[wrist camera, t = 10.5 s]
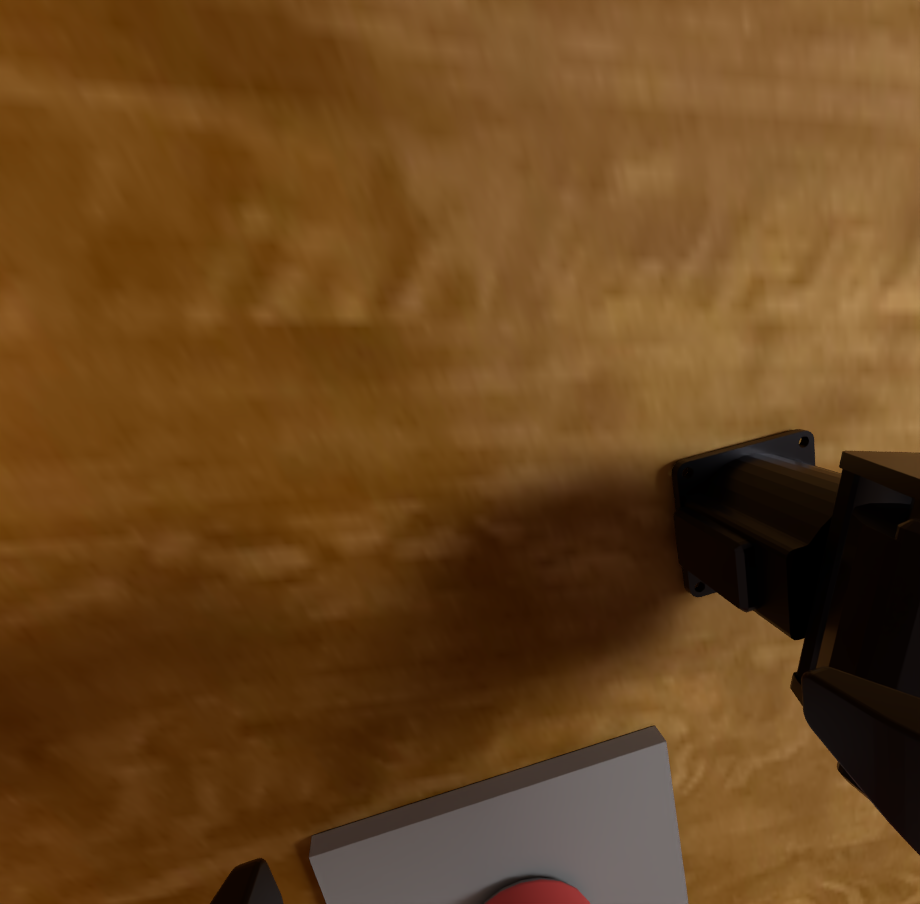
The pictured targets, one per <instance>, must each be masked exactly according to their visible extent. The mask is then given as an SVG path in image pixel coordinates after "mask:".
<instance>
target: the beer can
mask: <svg viewBox="0 0 920 904" xmlns="http://www.w3.org/2000/svg"><path fill="white" fill-rule="evenodd" d="M484 904H590V902H589V901H588V900H587V899H586V898H585V897H584V896H583V895H582V894H581V892H580V891H579V890H578V889H577V888H575V887H574V886H572V885H569V884H567V883H565V882H563V881H560V880H558V879H549V878H532V879H526V880H521V881H518V882H516V883H513V884H511V885H509V886H506V887H504V888H502V889H501V890H499V891H498V892H497V893H495V894H494V895H493V896H491V897H490V898H489V899H487V900H486V901H485V902H484Z"/></svg>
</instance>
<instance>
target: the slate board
mask: <svg viewBox="0 0 920 904" xmlns="http://www.w3.org/2000/svg"><path fill="white" fill-rule="evenodd" d="M309 859H310V862H311V865H312V867H313V870H314V873H315V875H316V878H317V880H318V883H319V886H320V888H321V891H322V893H323V896H324V899H325V901H326V904H484V902H485V901H486V900H487V899H489V898H490V897H491V896H493V895H494V894H495V893H497V892H498V891H499V890H501V889H502V888H504V887H506V886H509V885H511V884H513V883H516V882H518V881H521V880H526V879H532V878H549V879H558V880H560V881H563V882H565V883H567V884H569V885H572V886H574V887H575V888H577V889H578V890H579V891H580V892H581V894H582V895H583V896H584V897H585V898H586V899H587V900H588V901H589V902H590V904H688V898H687V890H686V883H685V876H684V868H683V861H682V853H681V846H680V839H679V831H678V824H677V817H676V809H675V802H674V795H673V787H672V780H671V773H670V765H669V758H668V751H667V743H666V740H665V739H664V738H663V736H662V735H661V733H660V732H659V731H658V729H657V728H656V726H652V727H649V728H646V729H643V730H640V731H637V732H634V733H631V734H627V735H624V736H621V737H618V738H615V739H612V740H609V741H606V742H603V743H599V744H596V745H593V746H590V747H587V748H584V749H581V750H578V751H575V752H571V753H568V754H565V755H562V756H559V757H556V758H553V759H550V760H547V761H544V762H540V763H537V764H534V765H531V766H528V767H525V768H522V769H519V770H516V771H512V772H509V773H506V774H503V775H500V776H497V777H494V778H491V779H488V780H484V781H481V782H478V783H475V784H472V785H469V786H466V787H463V788H460V789H456V790H453V791H450V792H447V793H444V794H441V795H438V796H435V797H432V798H428V799H425V800H422V801H419V802H416V803H413V804H410V805H407V806H404V807H401V808H397V809H394V810H391V811H388V812H385V813H382V814H379V815H376V816H373V817H369V818H366V819H363V820H360V821H357V822H354V823H351V824H348V825H345V826H341V827H338V828H335V829H332V830H329V831H326V832H323V833H320V834H317V835H313V836H312V839H311V846H310V853H309Z"/></svg>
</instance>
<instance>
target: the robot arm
mask: <svg viewBox="0 0 920 904" xmlns="http://www.w3.org/2000/svg"><path fill="white" fill-rule="evenodd" d="M800 438H802V440H801V443H800V444H799V440H800ZM839 467H840V468H842V474H841V473H838V472H834V471H831V470H827V469H824V468H820V467H817V466H815V449H814V437H813V434H812V433H811V432H809V431H806V430H801V429H796V430H792V431H788V432H785V433H781V434H777V435H773V436H769V437H766V438H762V439H758V440H754V441H750V442H747V443H743V444H739V445H735V446H732V447H728V448H724V449H720V450H716V451H713V452H709V453H705V454H701V455H698V456H694V457H690V458H686V459H682V460H680V461H678V462H676V463H675V464H674V466H673V468H672V481H673V489H674V498H675V507H676V510H675V513H674V524H675V533H676V541H677V550H678V559H679V564H680V565H681V566H682V568H683V577H684V586H685V589H686V590H687V591H688V592H689V593H690V594H692V595H693V596H695V597H702V596H705V595H709V594H712V593H716V592H717V593H719V594H720V595H721V596H723V597H724V598H725V599H727V600H728V601H729V602H731V603H732V604H733V605H735V606H736V607H737V608H739V609H740V610H742V611H744V612H749V611H754V612H756V613H757V614H759V615H760V616H761V617H763V618H764V619H766V620H767V621H768V622H770V623H771V624H772V625H774V626H775V627H777V628H778V629H779V630H781V631H782V632H784V633H785V634H786V635H788V636H789V637H790V638H792V639H794V640H800V639H803V638H805V639H804V643H803V648H802V652H801V657H800V661H799V666H798V670H797V672H794V673H793V676H792V681H791V685H790V688H791V690H792V691H793V693H794V694H795V696H796V697H797V698H798V700H799V701H800V703H801V704H802V706H803V712H804V716H805V719H806V721H807V723H808V724H809V726H810V727H811V729H812V730H813V731H814V733H815V734H816V735H817V736H818V737H819V739H820V740H821V741H822V742H823V744H824V745H825V746H826V747H827V748H828V750H829V751H830V752H831V753H832V755H833V756H834V757H835V758H836V759H837V761H838V763H837V769H838V771H839V772H840V773H841V775H842V776H843V777H844V778H845V779H846V780H847V781H848V782H849V783H850V784H851V785H852V786H854V787H855V788H856V789H857V790H858V791H859V792H861V793H862V794H863V795H864V796H865V797H867V798H868V799H869V800H870V801H871V802H872V803H873V804H874V806H875V807H876V808H877V809H878V810H879V812H880V813H881V814H882V815H883V816H884V817H885V819H886V820H887V821H888V822H889V823H890V824H891V825H892V826H893V827H894V829H895V830H896V831H897V832H898V833H899V834H900V835H901V836H902V837H903V838H904V839H905V840H906V841H907V843H908V844H909V845H910V846H911V847H912V848H913V849H914V850H915V851H916V852H917V853H918V854H919V855H920V453H911V452H872V451H842V456H841V460H840V465H839ZM685 468H688V472H687V474H686V475H685V476H683V475H682V473H683V470H684V469H685ZM699 582H700V583H699ZM697 583H699V585H698V587H696V588H695V585H696V584H697ZM210 904H283V900H282V896H281V893H280V891H279V889H278V886H277V884H276V882H275V880H274V877H273V875H272V873H271V871H270V868H269V866H268V864H267V862H266V861H265V860H264V859H262V858H258V859H255V860H252V861H249V862H246V863H243V864H240V865H238V866H236V867H235V868H234V869H233V870H232V871H231V873H230V874H229V875H228V877H227V878H226V880H225V882H224V883H223V885H222V886H221V888H220V889H219V891H218V892H217V894H216V895H215V897H214V898H213V900H212V901H211V903H210Z"/></svg>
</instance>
